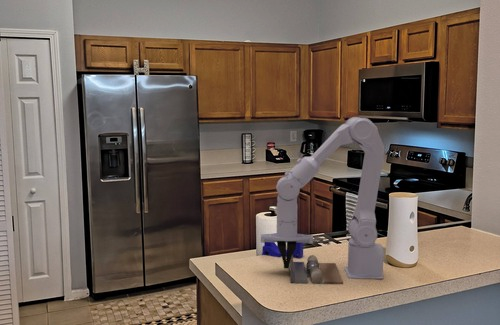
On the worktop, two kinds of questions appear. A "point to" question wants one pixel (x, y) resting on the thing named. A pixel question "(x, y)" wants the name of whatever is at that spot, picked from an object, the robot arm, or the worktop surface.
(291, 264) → the metal hinge
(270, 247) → the blue u-shaped bracket
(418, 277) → the worktop surface
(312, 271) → the fixed leaf
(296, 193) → the robot arm
